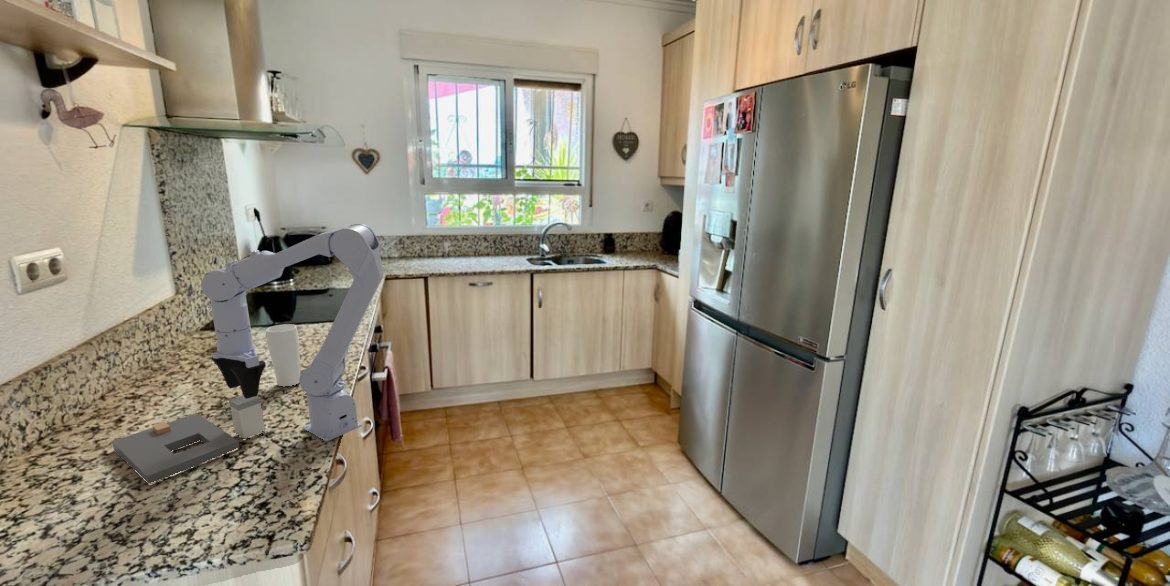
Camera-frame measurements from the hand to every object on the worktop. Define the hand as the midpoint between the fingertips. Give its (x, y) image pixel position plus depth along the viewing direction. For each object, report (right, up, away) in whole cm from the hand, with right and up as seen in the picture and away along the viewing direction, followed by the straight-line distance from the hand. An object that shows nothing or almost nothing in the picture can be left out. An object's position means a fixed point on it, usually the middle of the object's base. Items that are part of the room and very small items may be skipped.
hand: (243, 391), depth 101 cm
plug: (0, -9, +2) cm, 10 cm away
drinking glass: (-6, -3, +26) cm, 27 cm away
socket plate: (-10, -11, -4) cm, 15 cm away
